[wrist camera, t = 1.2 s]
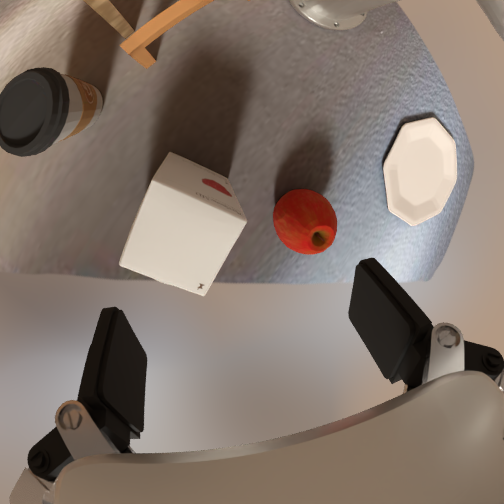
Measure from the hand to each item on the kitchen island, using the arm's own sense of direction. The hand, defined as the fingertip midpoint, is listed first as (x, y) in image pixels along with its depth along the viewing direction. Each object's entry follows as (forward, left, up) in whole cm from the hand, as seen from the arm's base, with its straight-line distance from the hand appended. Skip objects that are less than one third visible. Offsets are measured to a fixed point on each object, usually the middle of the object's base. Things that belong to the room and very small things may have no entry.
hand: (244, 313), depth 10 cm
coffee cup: (+7, -18, -28) cm, 34 cm away
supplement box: (+5, +1, -28) cm, 29 cm away
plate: (-29, +23, -29) cm, 47 cm away
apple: (-5, +13, -28) cm, 31 cm away
